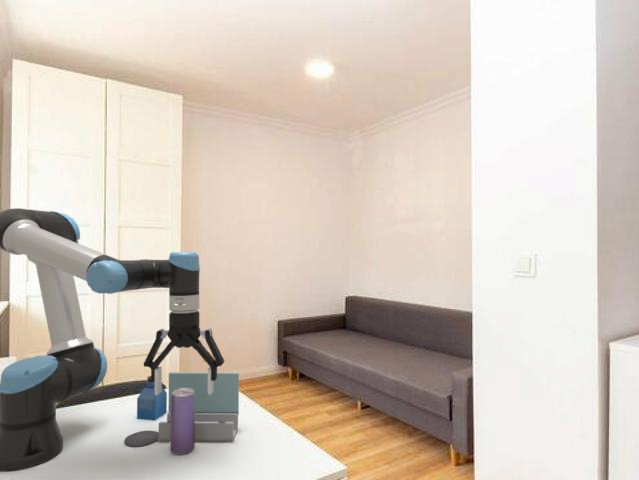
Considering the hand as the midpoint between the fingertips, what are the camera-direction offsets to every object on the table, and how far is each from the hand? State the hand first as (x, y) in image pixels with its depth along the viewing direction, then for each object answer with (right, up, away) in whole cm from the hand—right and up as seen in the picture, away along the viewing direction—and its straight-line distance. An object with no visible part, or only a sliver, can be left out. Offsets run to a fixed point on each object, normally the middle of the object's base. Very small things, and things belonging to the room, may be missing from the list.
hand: (184, 393), depth 105 cm
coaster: (-13, -15, +6) cm, 21 cm away
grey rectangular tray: (+2, -15, +8) cm, 17 cm away
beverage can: (0, -15, 0) cm, 15 cm away
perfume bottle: (-17, -15, +22) cm, 32 cm away
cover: (+2, -5, +11) cm, 12 cm away
